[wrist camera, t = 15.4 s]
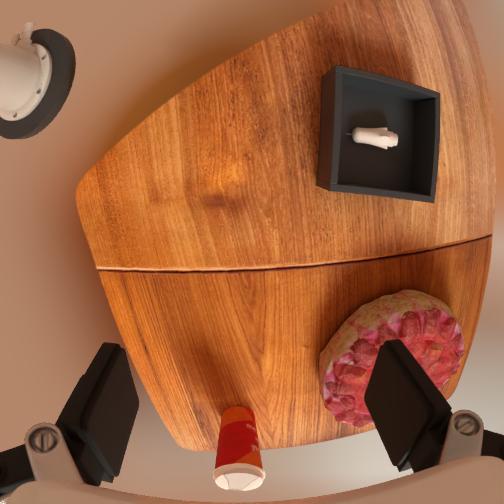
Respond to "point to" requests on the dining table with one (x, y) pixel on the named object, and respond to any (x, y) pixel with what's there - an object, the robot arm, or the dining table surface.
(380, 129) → the small white plastic part
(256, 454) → the paper cup
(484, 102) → the dining table surface
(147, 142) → the dining table surface
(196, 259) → the dining table surface
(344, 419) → the cake
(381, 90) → the bin
